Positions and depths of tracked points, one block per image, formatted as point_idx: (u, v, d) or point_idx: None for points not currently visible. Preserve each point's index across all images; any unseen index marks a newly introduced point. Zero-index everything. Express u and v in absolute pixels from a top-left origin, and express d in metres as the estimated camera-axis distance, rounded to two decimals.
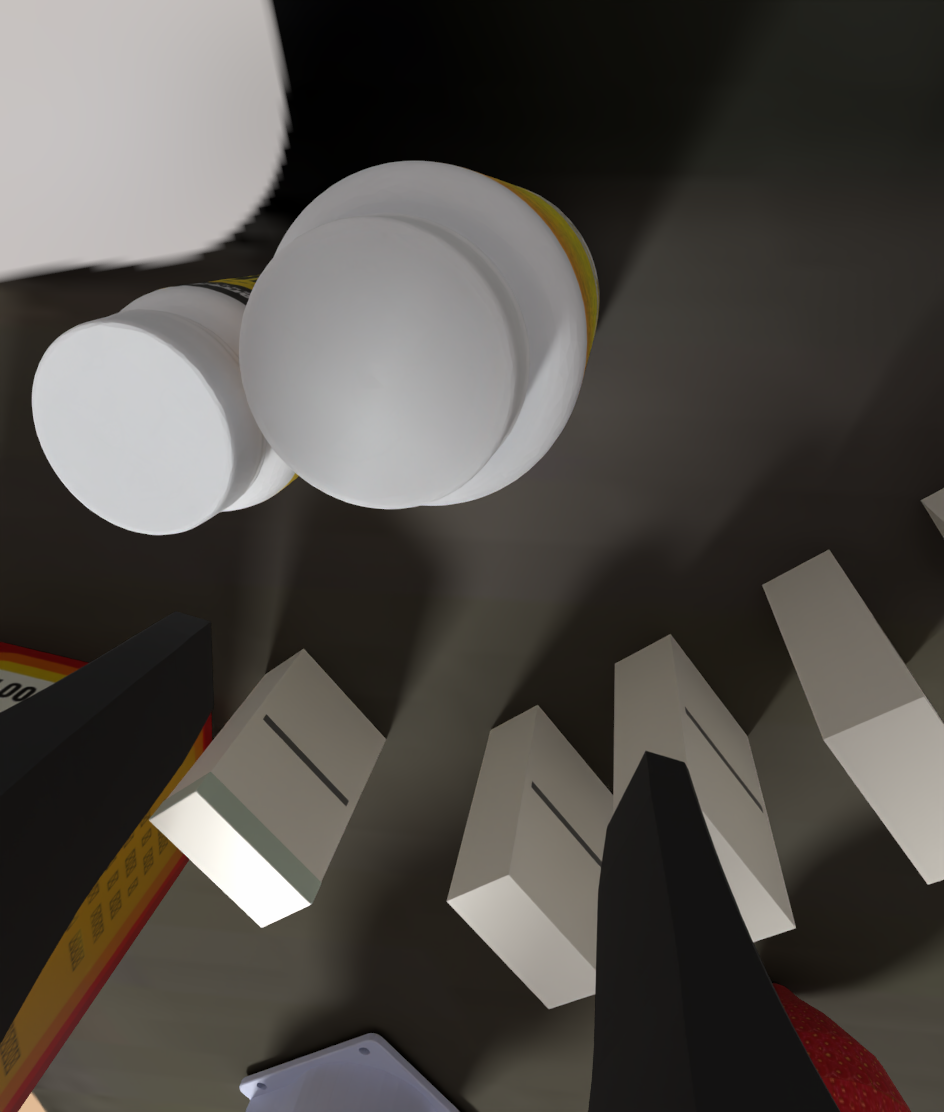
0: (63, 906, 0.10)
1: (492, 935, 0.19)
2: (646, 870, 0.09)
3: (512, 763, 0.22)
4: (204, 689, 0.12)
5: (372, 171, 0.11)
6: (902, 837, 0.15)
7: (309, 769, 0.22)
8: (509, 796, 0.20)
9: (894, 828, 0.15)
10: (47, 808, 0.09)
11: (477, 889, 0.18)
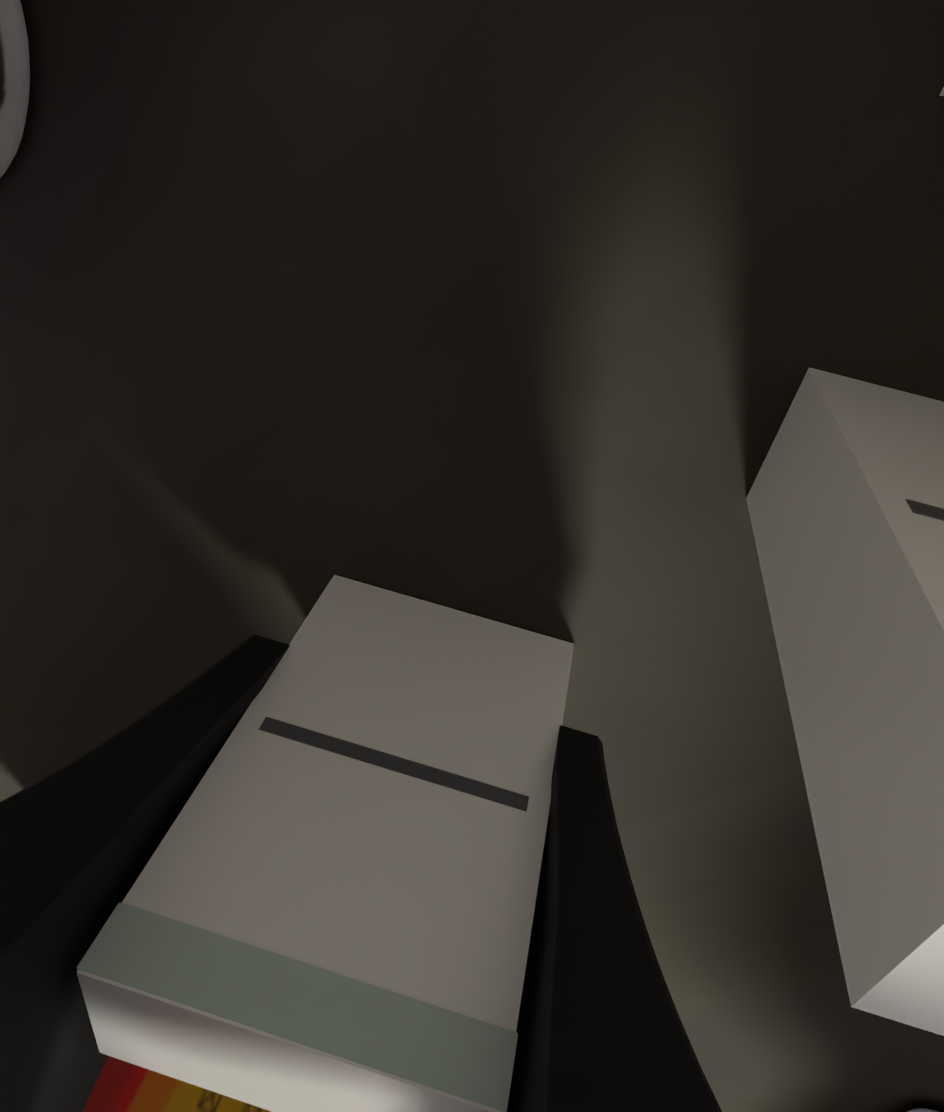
0: None
1: None
2: (547, 839, 0.10)
3: (822, 504, 0.08)
4: None
5: None
6: None
7: (406, 777, 0.10)
8: (861, 573, 0.06)
9: None
10: (150, 841, 0.09)
11: (940, 931, 0.04)
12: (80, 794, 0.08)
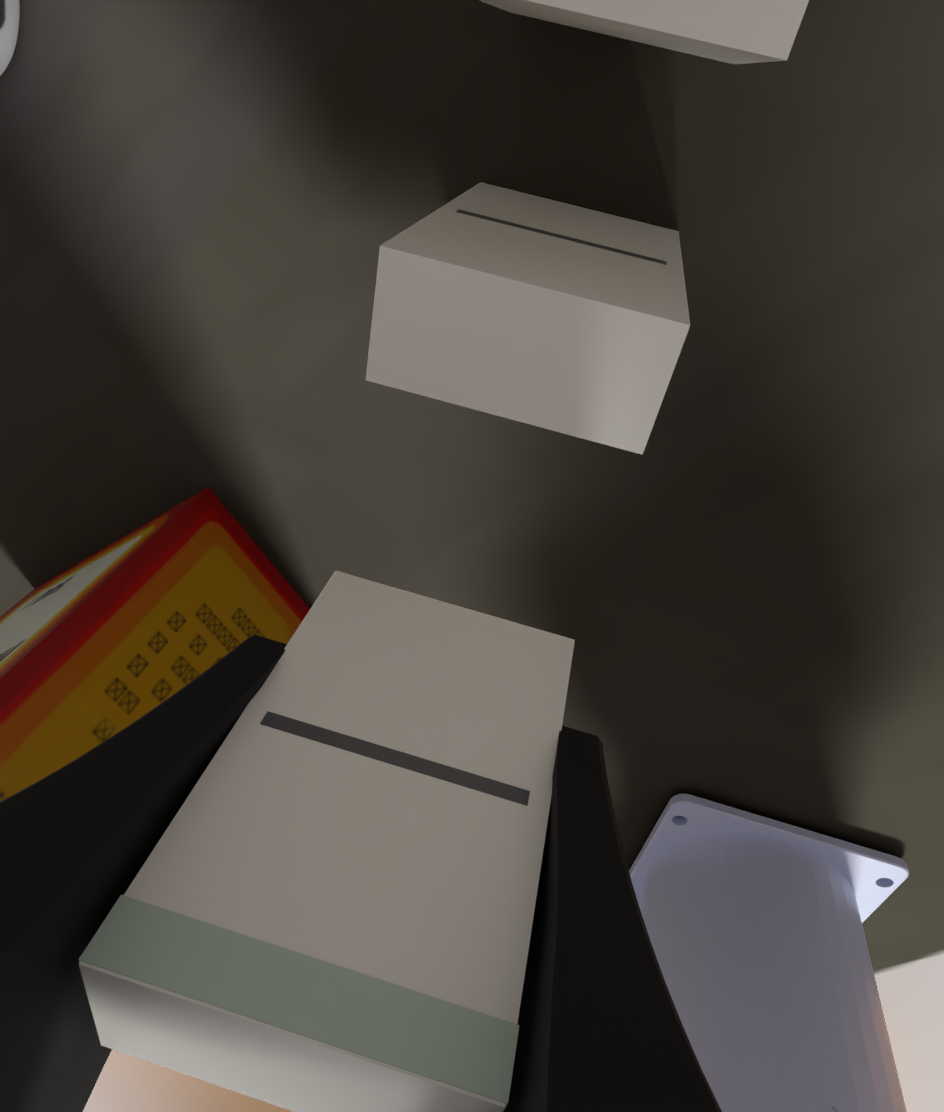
0: None
1: (462, 385, 0.11)
2: (547, 839, 0.10)
3: None
4: None
5: None
6: None
7: (407, 771, 0.10)
8: None
9: None
10: (150, 841, 0.09)
11: (378, 321, 0.11)
12: (80, 794, 0.08)
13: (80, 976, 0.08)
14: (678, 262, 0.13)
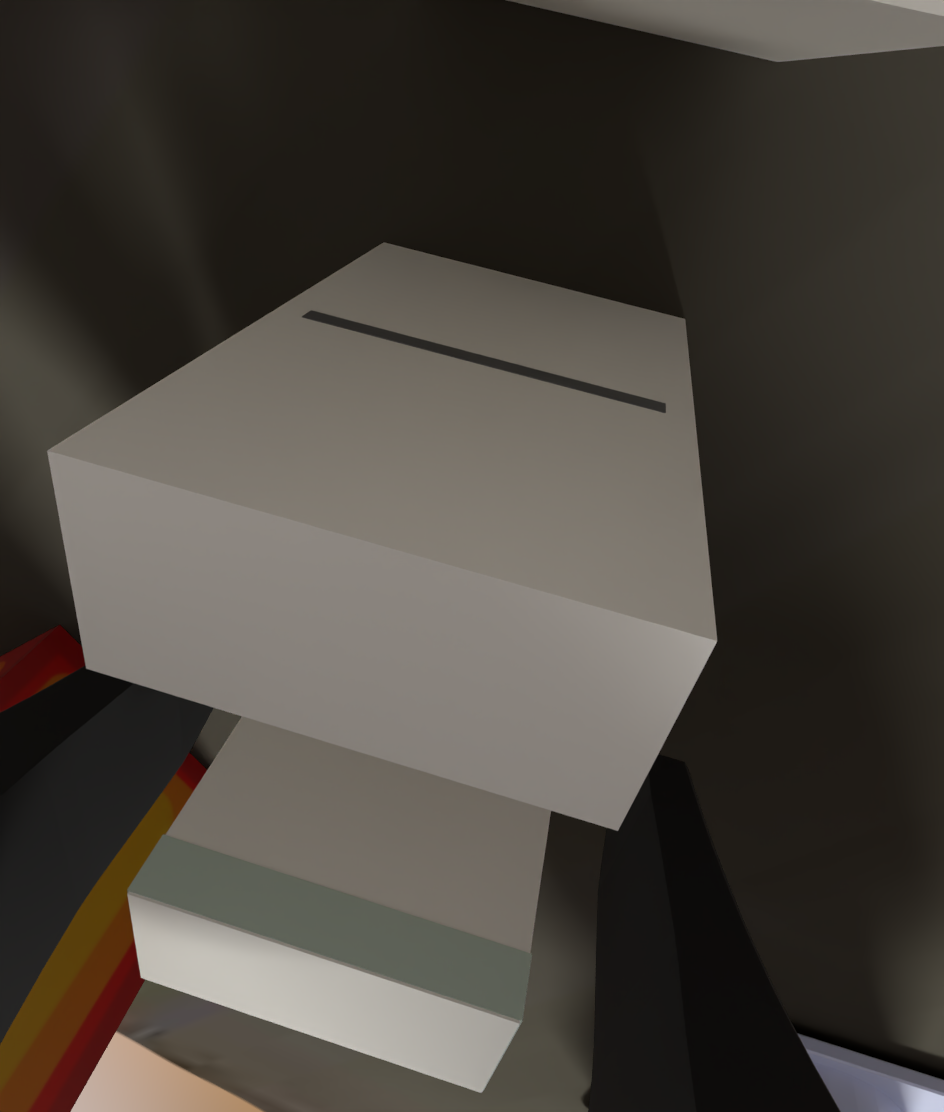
0: (63, 906, 0.10)
1: (262, 693, 0.06)
2: (646, 870, 0.09)
3: None
4: None
5: None
6: None
7: None
8: None
9: None
10: (47, 808, 0.09)
11: (86, 576, 0.05)
12: None
13: None
14: (686, 402, 0.08)
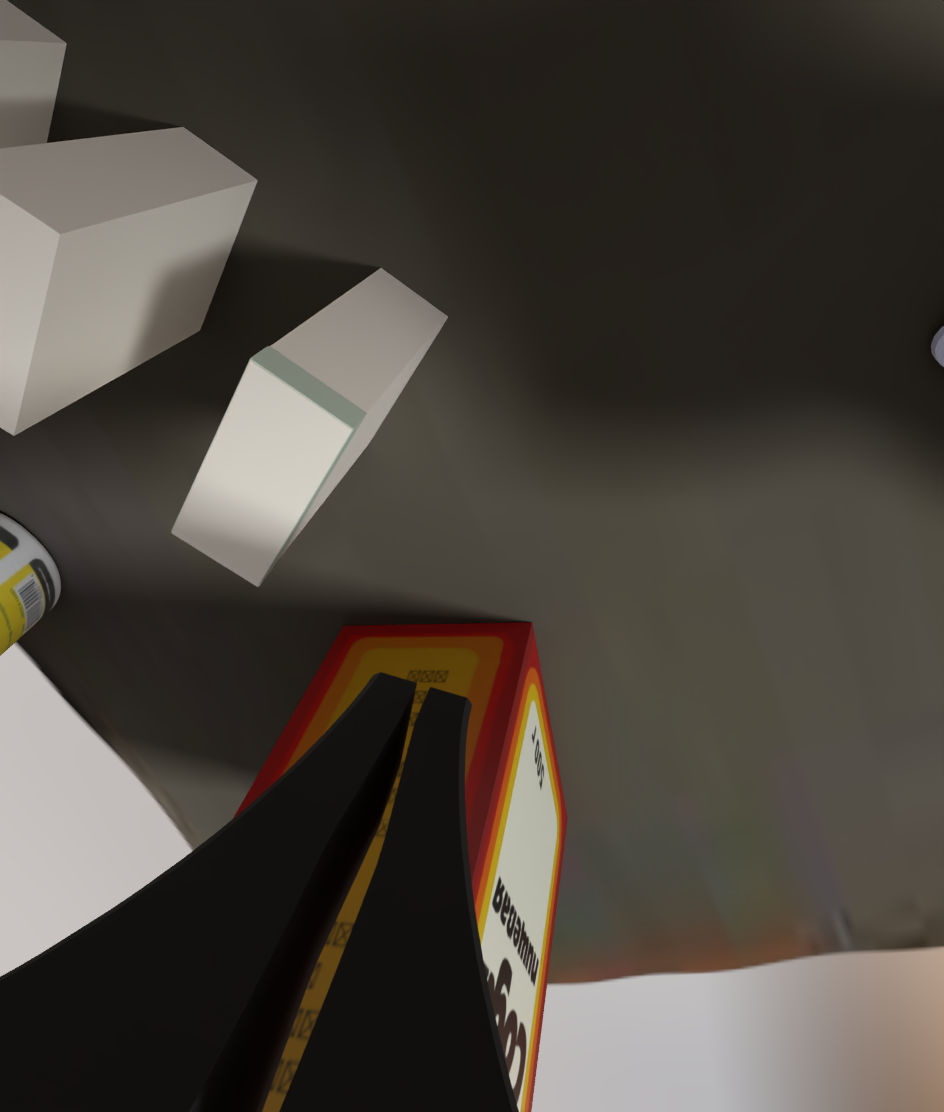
0: (303, 985, 0.09)
1: (11, 365, 0.13)
2: None
3: None
4: (401, 749, 0.12)
5: None
6: None
7: None
8: None
9: None
10: (316, 894, 0.08)
11: None
12: (257, 851, 0.08)
13: (263, 1038, 0.08)
14: (98, 140, 0.14)
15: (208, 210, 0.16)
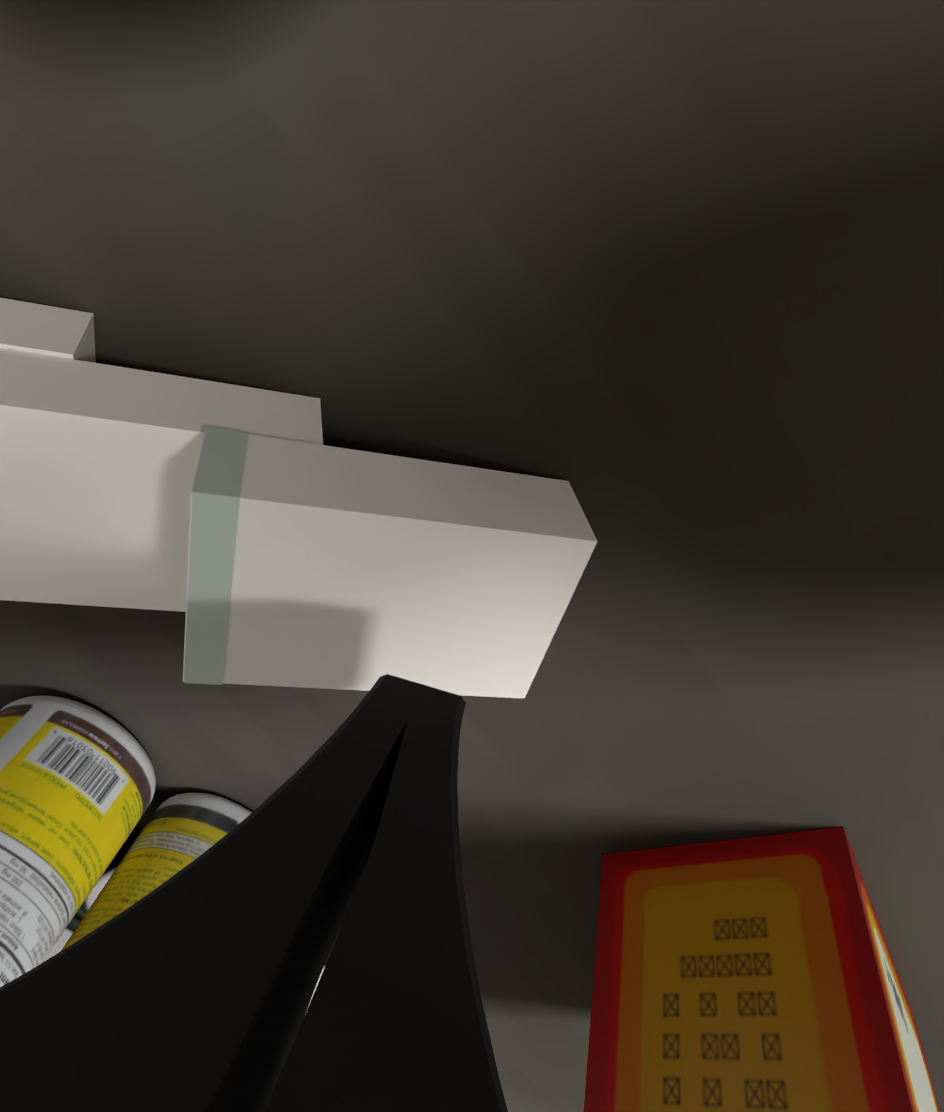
0: (310, 988, 0.09)
1: None
2: None
3: None
4: None
5: None
6: None
7: None
8: None
9: None
10: (325, 897, 0.08)
11: None
12: (266, 854, 0.08)
13: (272, 1041, 0.08)
14: (155, 375, 0.14)
15: None
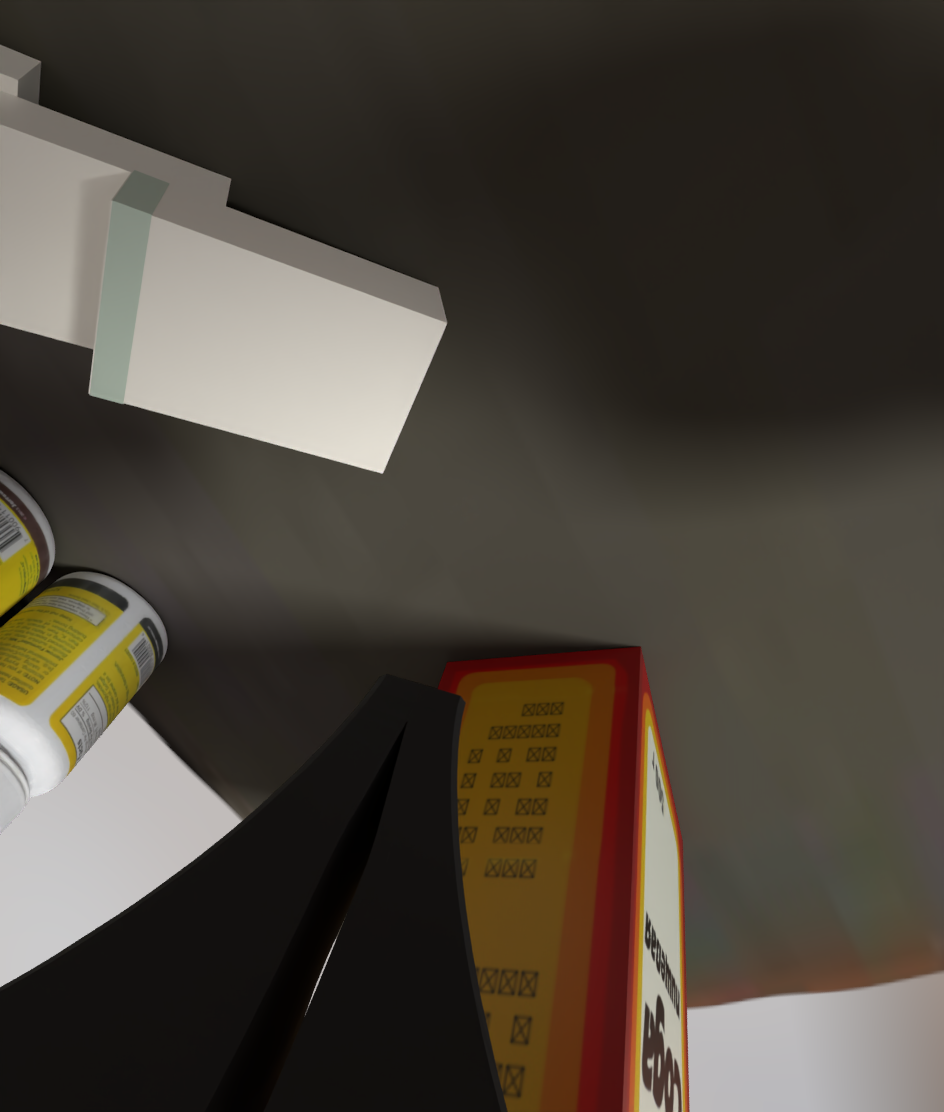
0: (310, 988, 0.09)
1: None
2: None
3: None
4: None
5: None
6: None
7: None
8: None
9: None
10: (325, 897, 0.08)
11: None
12: (267, 853, 0.08)
13: (272, 1041, 0.08)
14: None
15: None
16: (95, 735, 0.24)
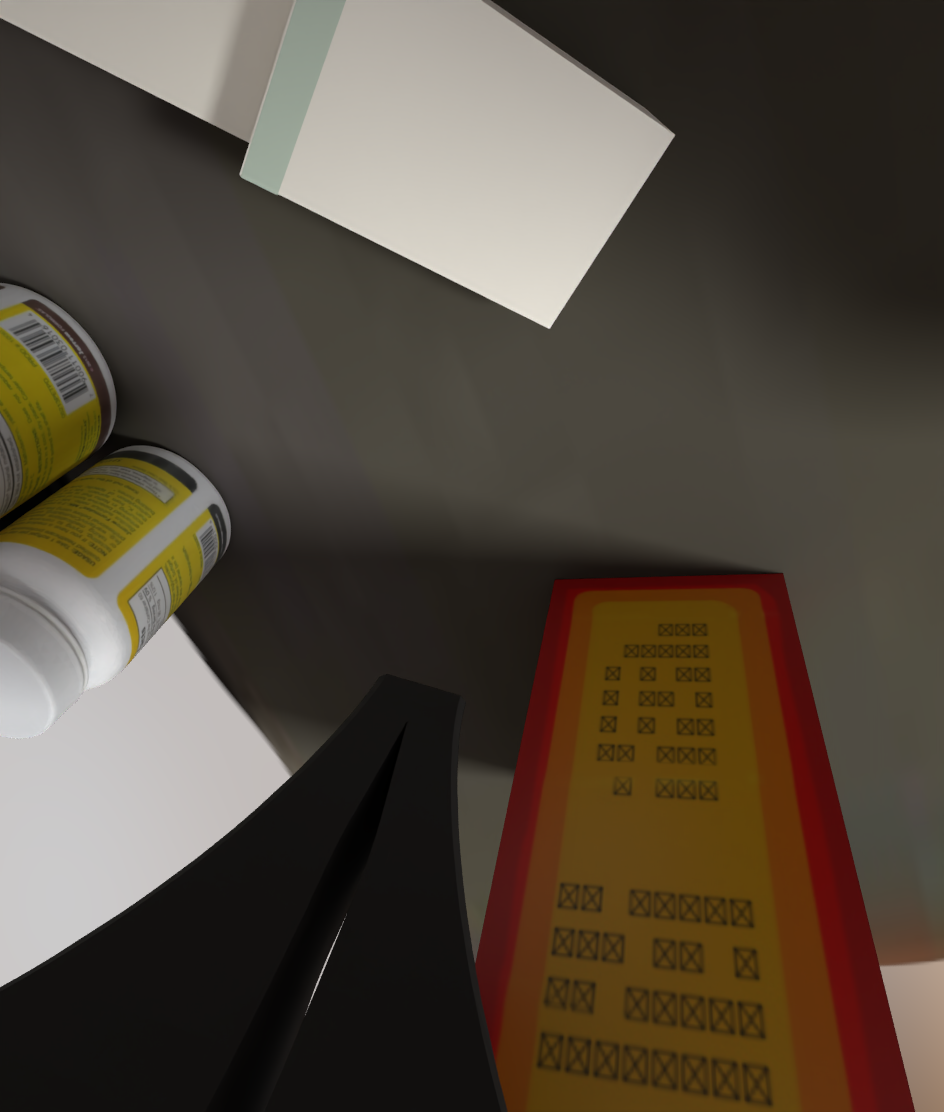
0: (311, 988, 0.09)
1: None
2: None
3: None
4: None
5: None
6: None
7: None
8: None
9: None
10: (325, 897, 0.08)
11: None
12: (266, 854, 0.08)
13: (272, 1041, 0.08)
14: None
15: None
16: (156, 627, 0.21)
